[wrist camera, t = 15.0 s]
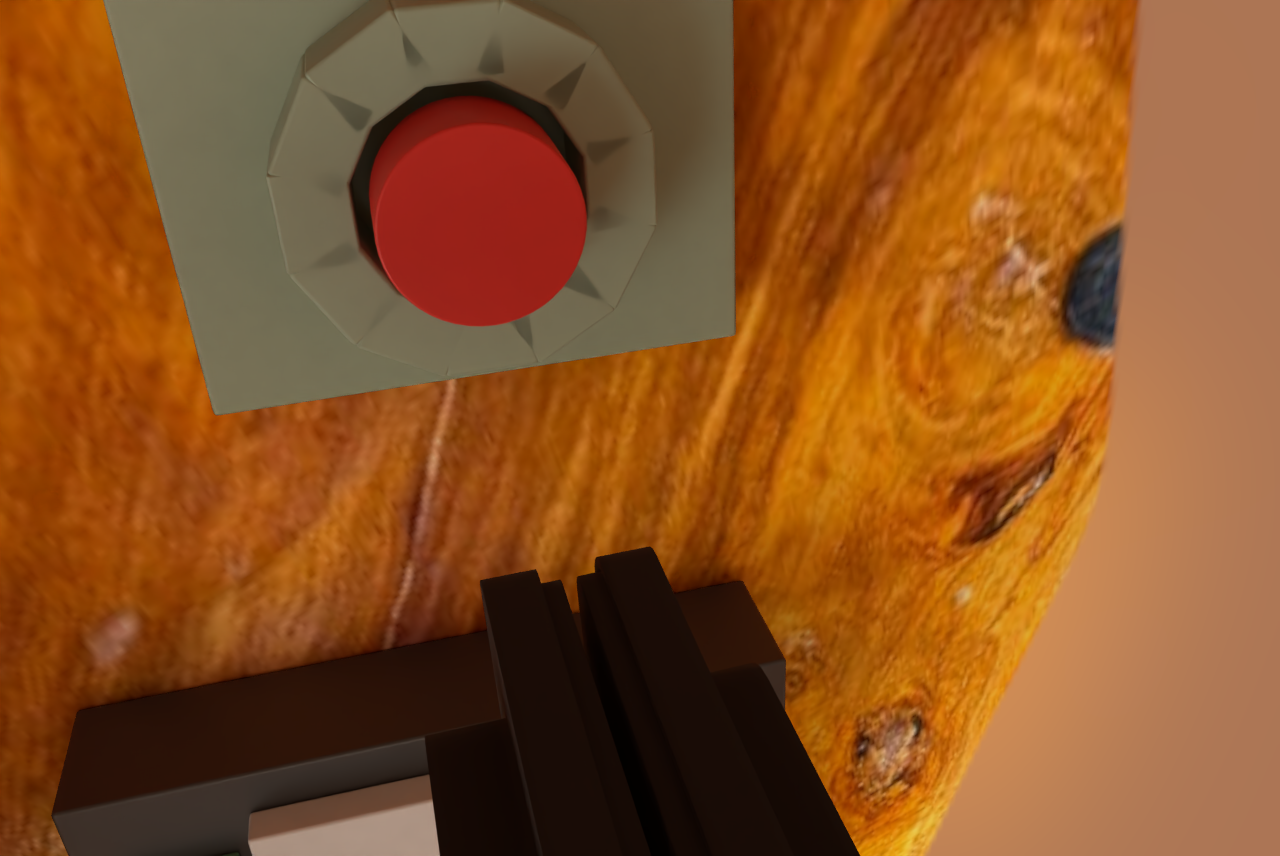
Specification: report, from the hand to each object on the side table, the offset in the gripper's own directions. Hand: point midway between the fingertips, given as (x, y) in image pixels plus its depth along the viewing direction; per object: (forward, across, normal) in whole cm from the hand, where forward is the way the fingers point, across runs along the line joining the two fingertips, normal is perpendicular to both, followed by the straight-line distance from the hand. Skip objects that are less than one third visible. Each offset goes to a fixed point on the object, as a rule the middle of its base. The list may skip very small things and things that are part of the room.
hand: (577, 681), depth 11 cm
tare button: (+10, 0, -2) cm, 10 cm away
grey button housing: (+12, 0, -2) cm, 13 cm away
